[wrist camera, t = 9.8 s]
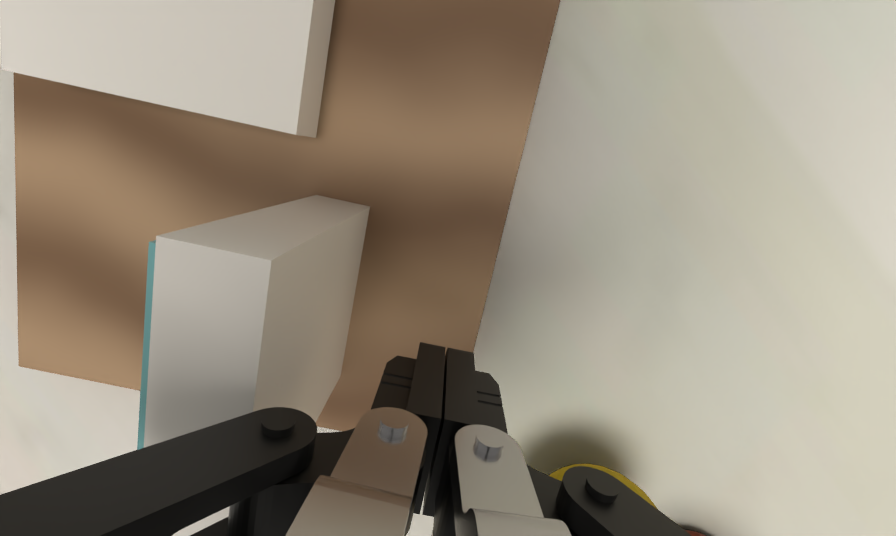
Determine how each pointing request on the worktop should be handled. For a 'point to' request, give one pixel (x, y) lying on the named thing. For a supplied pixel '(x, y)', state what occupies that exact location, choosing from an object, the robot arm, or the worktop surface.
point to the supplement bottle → (694, 533)
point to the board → (288, 187)
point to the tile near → (247, 317)
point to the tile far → (181, 53)
